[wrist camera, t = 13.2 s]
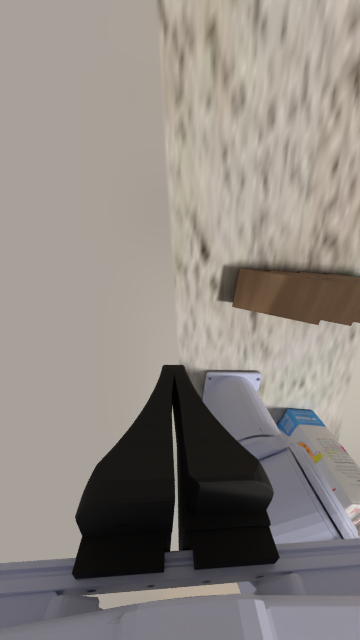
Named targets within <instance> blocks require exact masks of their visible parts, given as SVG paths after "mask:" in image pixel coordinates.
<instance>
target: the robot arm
mask: <svg viewBox="0 0 360 640" xmlns="http://www.w3.org/2000/svg"><path fill="white" fill-rule="evenodd" d="M261 378H262V374H261V373H260V372H207V373H206V378H205V385H204V392H203V399H201V398H200V396H199V395H198V393H197V391H196V390H195V388H194V386H193V384H192V383H191V381H190V379H189V377H188V375H187V372H186V370H185V367H184V366H183V365H164V366H163V367H162V371H161V374H160V377H159V380H158V382H157V385H156V387H155V389H154V391H153V393H152V394H151V396H150V398H149V400H148V402H147V404H146V405H145V407H144V408H143V410H142V411H141V413H140V415H139V416H138V417H137V419H136V420H135V421H134V423H133V424H132V426H131V427H130V428H129V429H128V431H127V432H126V433H125V434H124V435H123V437H122V438H121V439H120V440H119V441H118V443H117V444H116V445H115V446H114V447H113V448H112V449H111V450H110V451H109V452H108V454H107V455H106V456H105V457H104V458H103V459H102V460H101V461H100V462H99V463H98V464H97V465H96V467H95V469H94V471H93V473H92V475H91V477H90V479H89V481H88V483H87V485H86V488H85V490H84V492H83V495H82V498H81V501H80V504H79V507H78V510H77V513H76V516H75V518H76V522H77V525H78V527H79V529H80V532H81V534H82V540H81V543H80V546H79V550H78V553H77V557H76V558H68V559H54V560H40V561H26V562H11V563H0V640H360V537H359V536H358V531H357V529H356V527H355V526H354V524H353V522H352V521H351V519H350V518H349V516H348V514H347V513H346V511H345V510H344V508H343V507H342V505H341V503H340V502H339V500H338V499H337V497H336V496H335V494H334V493H333V491H332V489H331V488H330V486H329V485H328V483H327V482H326V480H325V478H324V477H323V475H322V474H321V472H320V471H319V469H318V468H317V466H316V465H315V463H314V461H313V460H312V458H311V457H310V455H309V454H308V452H307V451H306V449H305V448H304V447H302V446H300V445H297V444H296V443H292V444H290V446H289V445H288V444H287V442H286V441H285V439H284V438H283V436H282V434H281V433H280V431H279V429H278V427H277V426H276V424H275V422H274V420H273V419H272V417H271V415H270V413H269V412H268V410H267V408H266V406H265V404H264V403H263V401H262V399H261V397H260V396H259V394H258V392H257V391H258V388H259V385H260V382H261ZM172 404H173V413H174V422H175V432H176V442H177V473H178V529H179V551H170V545H171V533H172V528H173V516H174V505H175V482H174V481H175V478H174V459H173V437H172ZM290 447H291V448H290ZM235 582H237V584H238V586H239V589H240V592H241V594H228V595H212V596H196V597H185V598H175V599H167V600H159V601H151V602H146V603H139V604H132V605H127V606H121V607H116V608H111V609H105V610H103V609H101V608H99V600H98V598H97V597H87V596H83V595H94V594H106V593H118V592H130V591H141V590H153V589H165V588H177V587H188V586H199V585H212V584H224V583H235Z"/></svg>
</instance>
